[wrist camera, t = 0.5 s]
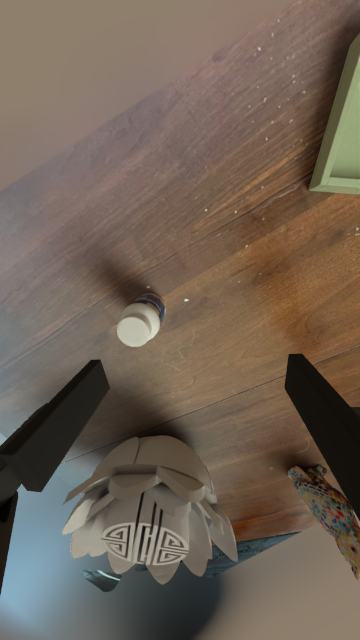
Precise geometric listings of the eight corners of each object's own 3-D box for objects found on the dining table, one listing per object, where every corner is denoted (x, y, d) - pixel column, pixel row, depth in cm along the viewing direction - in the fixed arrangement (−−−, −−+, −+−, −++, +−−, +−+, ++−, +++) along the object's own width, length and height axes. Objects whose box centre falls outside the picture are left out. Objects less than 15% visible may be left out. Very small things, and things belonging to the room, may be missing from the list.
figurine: (312, 455, 41) (376, 563, 27) (336, 473, 42) (407, 582, 28) (282, 471, 43) (325, 577, 29) (305, 487, 45) (356, 594, 31)
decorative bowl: (209, 497, 49) (217, 595, 35) (103, 479, 49) (68, 570, 35) (240, 419, 38) (269, 517, 24) (103, 395, 38) (51, 480, 24)
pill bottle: (170, 298, 29) (160, 319, 20) (161, 326, 31) (149, 357, 22) (138, 287, 29) (114, 304, 20) (131, 317, 31) (107, 344, 22)
